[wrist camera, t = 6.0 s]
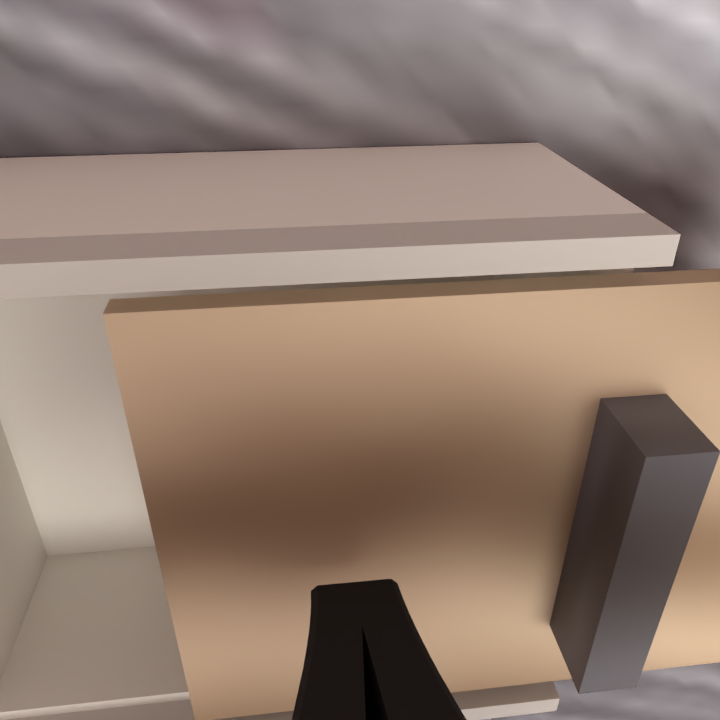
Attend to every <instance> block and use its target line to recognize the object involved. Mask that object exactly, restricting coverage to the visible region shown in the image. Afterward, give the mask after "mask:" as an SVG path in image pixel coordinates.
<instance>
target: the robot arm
mask: <svg viewBox="0 0 720 720" xmlns="http://www.w3.org/2000/svg"><path fill="white" fill-rule="evenodd" d="M292 720H467V719H466V718H465V716H464V715H463V713H462V711H461V710H460V708H459V706H458V704H457V703H456V701H455V699H454V697H453V696H452V694H451V692H450V691H449V689H448V687H447V685H446V684H445V682H444V680H443V678H442V677H441V675H440V673H439V671H438V670H437V668H436V666H435V664H434V662H433V660H432V658H431V656H430V655H429V653H428V651H427V649H426V647H425V645H424V643H423V641H422V639H421V637H420V635H419V633H418V631H417V629H416V626H415V624H414V622H413V620H412V618H411V616H410V613H409V611H408V609H407V606H406V604H405V602H404V599H403V597H402V594H401V592H400V589H399V586H398V583H397V582H395V581H394V580H392V579H382V580H371V581H360V582H349V583H338V584H327V585H317V586H316V587H315V588H314V589H313V590H311V614H310V626H309V635H308V642H307V648H306V654H305V660H304V666H303V671H302V676H301V680H300V685H299V689H298V694H297V698H296V703H295V707H294V712H293V716H292ZM482 720H491V718H490V719H482Z"/></svg>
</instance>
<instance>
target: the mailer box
mask: <svg viewBox="0 0 720 720" xmlns="http://www.w3.org/2000/svg"><path fill="white" fill-rule="evenodd" d="M680 236H681V234H679V233H678V232H676V231H675V230H673V229H672V228H670V227H669V226H667V225H666V224H664V223H662V222H661V221H659V220H658V219H656V218H655V217H653V216H652V215H650V214H648V213H647V212H645V211H644V210H642V209H641V208H639V207H638V206H636V205H635V204H633V203H631V202H630V201H628V200H627V199H625V198H624V197H622V196H621V195H619V194H617V193H616V192H614V191H613V190H611V189H610V188H608V187H607V186H605V185H604V184H602V183H600V182H599V181H597V180H596V179H594V178H593V177H591V176H590V175H588V174H586V173H585V172H583V171H582V170H580V169H579V168H577V167H576V166H574V165H572V164H571V163H569V162H568V161H566V160H565V159H563V158H562V157H560V156H559V155H557V154H555V153H554V152H552V151H551V150H549V149H548V148H546V147H545V146H543V145H541V144H540V143H504V144H470V145H435V146H400V147H366V148H331V149H297V150H262V151H228V152H193V153H158V154H124V155H89V156H55V157H20V158H0V720H195V718H194V714H193V709H192V705H191V701H190V696H189V692H188V687H187V683H186V679H185V674H184V670H183V665H182V661H181V657H180V652H179V648H178V643H177V639H176V635H175V630H174V626H173V621H172V617H171V613H170V608H169V604H168V599H167V595H166V591H165V586H164V582H163V577H162V573H161V569H160V564H159V560H158V555H157V551H156V547H155V542H154V538H153V533H152V529H151V525H150V520H149V516H148V512H147V507H146V503H145V498H144V494H143V490H142V485H141V481H140V476H139V472H138V468H137V463H136V459H135V454H134V450H133V446H132V441H131V437H130V432H129V428H128V424H127V419H126V415H125V410H124V406H123V402H122V397H121V393H120V388H119V384H118V380H117V375H116V371H115V366H114V362H113V358H112V353H111V349H110V344H109V340H108V336H107V331H106V327H105V322H104V318H103V312H104V310H105V308H106V306H107V304H108V302H109V300H110V299H122V298H142V297H162V296H182V295H202V294H222V293H242V292H262V291H282V290H302V289H322V288H342V287H362V286H381V285H401V284H421V283H441V282H461V281H481V280H501V279H521V278H541V277H561V276H581V275H601V274H621V273H634V269H635V268H644V267H664V266H673V262H674V259H675V255H676V251H677V247H678V243H679V239H680ZM451 694H452V696H453V697H454V699H455V701H456V703H457V704H458V706H459V708H460V710H461V711H462V713H463V715H464V716H465V718H466V719H467V720H482V719H490V718H499V717H507V716H516V715H524V714H533V713H541V712H550V711H556V710H557V706H558V703H559V699H560V698H559V696H558V693H557V691H556V688H555V686H554V683H553V681H549V682H540V683H531V684H522V685H514V686H505V687H496V688H487V689H478V690H469V691H461V692H452V693H451ZM293 712H294V710H293V711H284V712H276V713H267V714H258V715H249V716H240V717H231V718H223V719H214V720H292V716H293Z"/></svg>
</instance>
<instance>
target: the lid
mask: <svg viewBox="0 0 720 720" xmlns="http://www.w3.org/2000/svg"><path fill="white" fill-rule="evenodd" d="M103 318H104V322H105V327H106V331H107V336H108V340H109V344H110V349H111V353H112V358H113V362H114V366H115V371H116V375H117V380H118V384H119V388H120V393H121V397H122V402H123V406H124V410H125V415H126V419H127V424H128V428H129V432H130V437H131V441H132V446H133V450H134V454H135V459H136V463H137V468H138V472H139V476H140V481H141V485H142V490H143V494H144V498H145V503H146V507H147V512H148V516H149V520H150V525H151V529H152V533H153V538H154V542H155V547H156V551H157V555H158V560H159V564H160V569H161V573H162V577H163V582H164V586H165V591H166V595H167V599H168V604H169V608H170V613H171V617H172V621H173V626H174V630H175V635H176V639H177V643H178V648H179V652H180V657H181V661H182V665H183V670H184V674H185V679H186V683H187V687H188V692H189V696H190V701H191V705H192V709H193V714H194V718H195V720H214V719H223V718H231V717H240V716H249V715H258V714H267V713H276V712H284V711H293V710H294V707H295V703H296V698H297V694H298V689H299V685H300V680H301V676H302V671H303V666H304V660H305V654H306V648H307V642H308V635H309V626H310V614H311V590H313V589H314V588H315V587H316V586H317V585H327V584H338V583H349V582H360V581H371V580H382V579H392V580H394V581H395V582H397V583H398V586H399V589H400V592H401V594H402V597H403V599H404V602H405V604H406V606H407V609H408V611H409V613H410V616H411V618H412V620H413V622H414V624H415V626H416V629H417V631H418V633H419V635H420V637H421V639H422V641H423V643H424V645H425V647H426V649H427V651H428V653H429V655H430V656H431V658H432V660H433V662H434V664H435V666H436V668H437V670H438V671H439V673H440V675H441V677H442V678H443V680H444V682H445V684H446V685H447V687H448V689H449V691H450V692H451V693H452V692H461V691H469V690H478V689H487V688H496V687H505V686H514V685H522V684H531V683H540V682H549V681H558V680H566V679H573V682H574V684H575V686H576V689H577V691H578V693H579V694H582V693H591V692H599V691H608V690H616V689H625V688H634V687H636V686H637V684H638V681H639V678H640V675H641V672H642V671H646V670H655V669H663V668H672V667H681V666H690V665H699V664H707V663H716V662H720V269H701V270H681V271H661V272H641V273H621V274H601V275H581V276H561V277H541V278H521V279H501V280H481V281H461V282H441V283H421V284H401V285H381V286H362V287H342V288H322V289H302V290H282V291H262V292H242V293H222V294H202V295H182V296H162V297H142V298H122V299H110V300H109V302H108V304H107V306H106V308H105V310H104V312H103Z"/></svg>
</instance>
